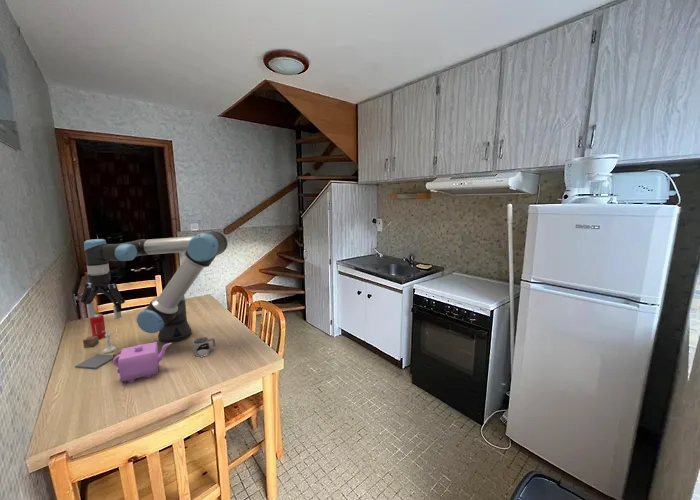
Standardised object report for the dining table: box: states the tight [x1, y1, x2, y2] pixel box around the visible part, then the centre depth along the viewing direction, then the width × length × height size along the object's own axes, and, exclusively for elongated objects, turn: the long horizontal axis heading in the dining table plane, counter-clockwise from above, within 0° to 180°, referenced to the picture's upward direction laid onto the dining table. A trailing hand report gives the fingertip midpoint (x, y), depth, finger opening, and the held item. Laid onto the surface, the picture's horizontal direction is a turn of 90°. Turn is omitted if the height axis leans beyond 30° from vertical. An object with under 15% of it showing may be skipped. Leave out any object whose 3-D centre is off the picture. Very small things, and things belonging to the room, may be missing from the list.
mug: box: [192, 337, 216, 358], centre depth 137 cm, size 10×7×7 cm, turn 143°
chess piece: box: [102, 330, 117, 354], centre depth 138 cm, size 5×5×10 cm
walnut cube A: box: [82, 335, 100, 349], centre depth 143 cm, size 4×4×4 cm
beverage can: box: [89, 313, 107, 340], centre depth 151 cm, size 5×5×12 cm
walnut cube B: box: [112, 350, 122, 363], centre depth 129 cm, size 4×4×4 cm
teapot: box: [112, 341, 173, 384], centre depth 120 cm, size 20×10×12 cm, turn 120°
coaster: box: [74, 353, 113, 370], centre depth 129 cm, size 10×10×1 cm
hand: (105, 317), depth 136 cm, fingers open, 13 cm apart
